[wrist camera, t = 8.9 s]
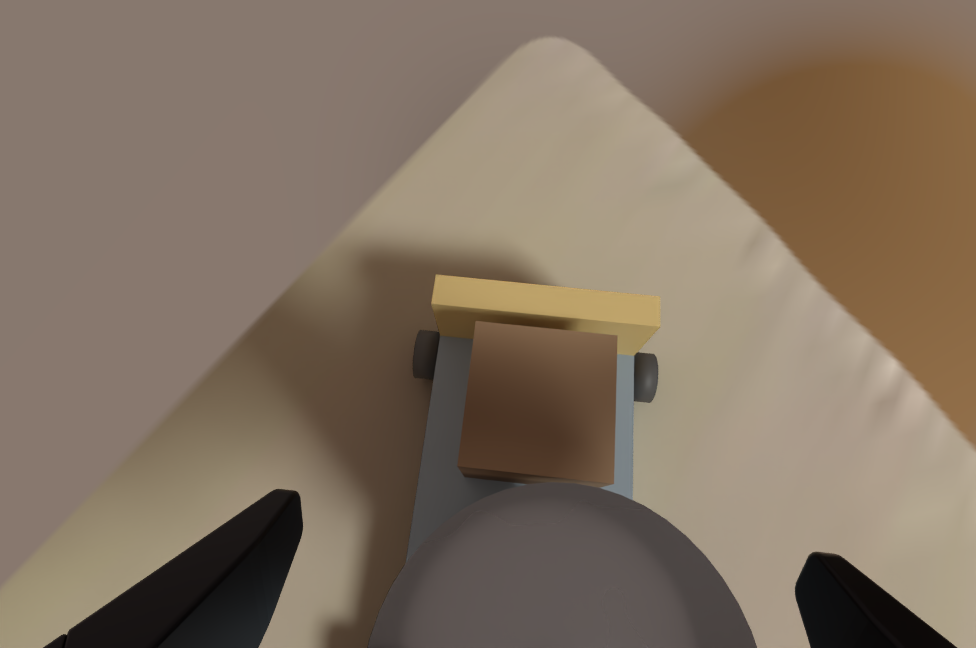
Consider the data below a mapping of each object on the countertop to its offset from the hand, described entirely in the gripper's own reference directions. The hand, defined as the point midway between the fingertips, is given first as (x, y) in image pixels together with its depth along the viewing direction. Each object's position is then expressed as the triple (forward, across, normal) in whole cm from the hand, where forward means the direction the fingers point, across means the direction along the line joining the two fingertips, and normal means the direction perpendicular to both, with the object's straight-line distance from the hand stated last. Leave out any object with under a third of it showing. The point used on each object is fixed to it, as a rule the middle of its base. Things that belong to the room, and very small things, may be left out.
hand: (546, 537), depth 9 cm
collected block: (+8, 0, +3) cm, 8 cm away
